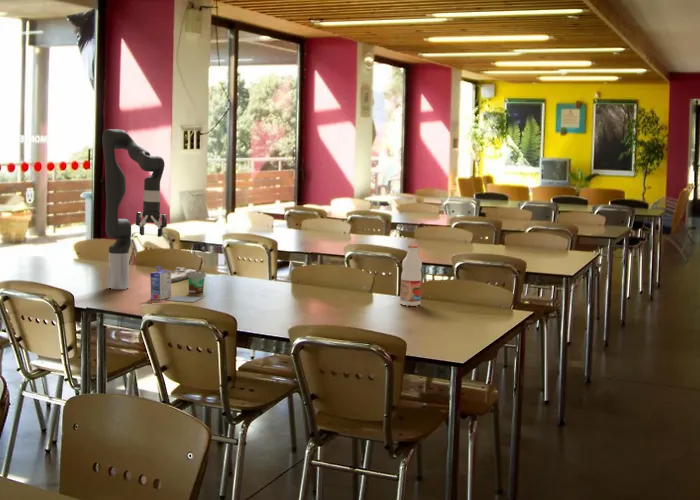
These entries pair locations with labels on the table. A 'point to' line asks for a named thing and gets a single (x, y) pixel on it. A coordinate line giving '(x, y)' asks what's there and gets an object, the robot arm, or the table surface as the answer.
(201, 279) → the food container
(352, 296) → the table surface
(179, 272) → the long grey stone
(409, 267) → the fruit juice
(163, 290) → the ink cartridge box
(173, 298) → the mat
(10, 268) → the table surface
